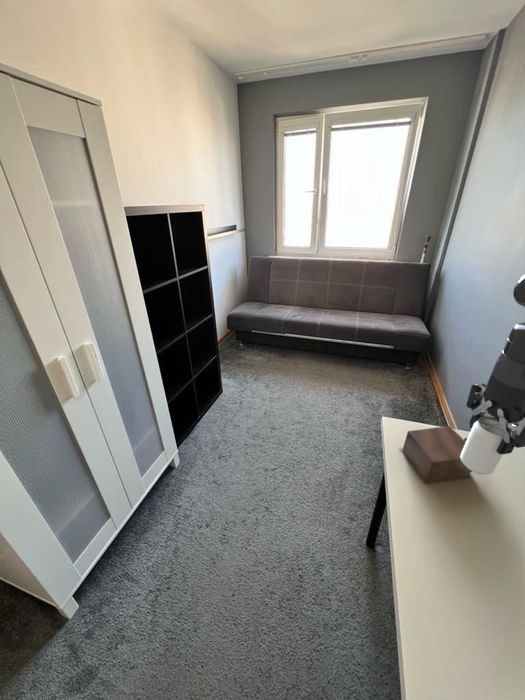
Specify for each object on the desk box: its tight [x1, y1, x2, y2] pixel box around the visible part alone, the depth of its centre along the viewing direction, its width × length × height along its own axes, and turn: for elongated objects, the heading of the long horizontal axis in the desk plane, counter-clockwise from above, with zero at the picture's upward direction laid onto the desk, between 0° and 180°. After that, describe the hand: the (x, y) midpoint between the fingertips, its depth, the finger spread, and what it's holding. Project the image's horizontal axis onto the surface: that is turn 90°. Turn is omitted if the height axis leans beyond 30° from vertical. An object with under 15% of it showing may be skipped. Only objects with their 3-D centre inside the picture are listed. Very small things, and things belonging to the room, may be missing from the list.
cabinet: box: [401, 425, 472, 483], centre depth 83 cm, size 14×12×9 cm
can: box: [460, 415, 510, 475], centre depth 61 cm, size 6×6×12 cm
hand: (487, 439), depth 61 cm, fingers closed on can, 6 cm apart
